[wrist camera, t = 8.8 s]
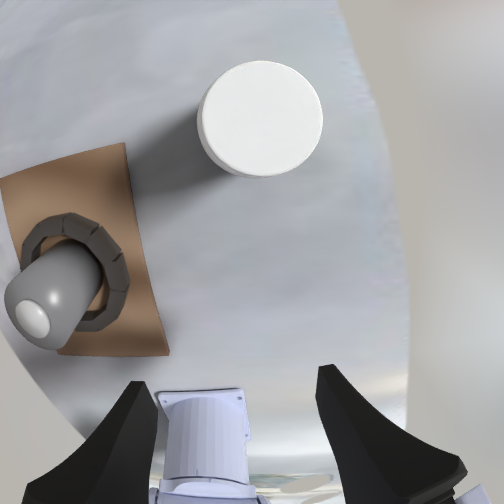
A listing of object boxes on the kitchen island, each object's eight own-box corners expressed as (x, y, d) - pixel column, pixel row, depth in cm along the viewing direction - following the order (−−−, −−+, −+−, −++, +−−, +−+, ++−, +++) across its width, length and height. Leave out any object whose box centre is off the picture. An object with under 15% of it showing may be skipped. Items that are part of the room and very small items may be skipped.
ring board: (169, 350, 22) (166, 367, 20) (61, 350, 22) (53, 364, 20) (124, 142, 16) (113, 144, 14) (3, 177, 15) (-13, 183, 14)
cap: (111, 297, 19) (78, 355, 13) (60, 300, 19) (22, 352, 13) (93, 234, 17) (45, 279, 12) (41, 242, 17) (-10, 284, 11)
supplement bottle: (288, 161, 17) (337, 185, 10) (211, 168, 17) (198, 199, 9) (281, 85, 15) (326, 50, 8) (202, 92, 15) (181, 58, 8)
